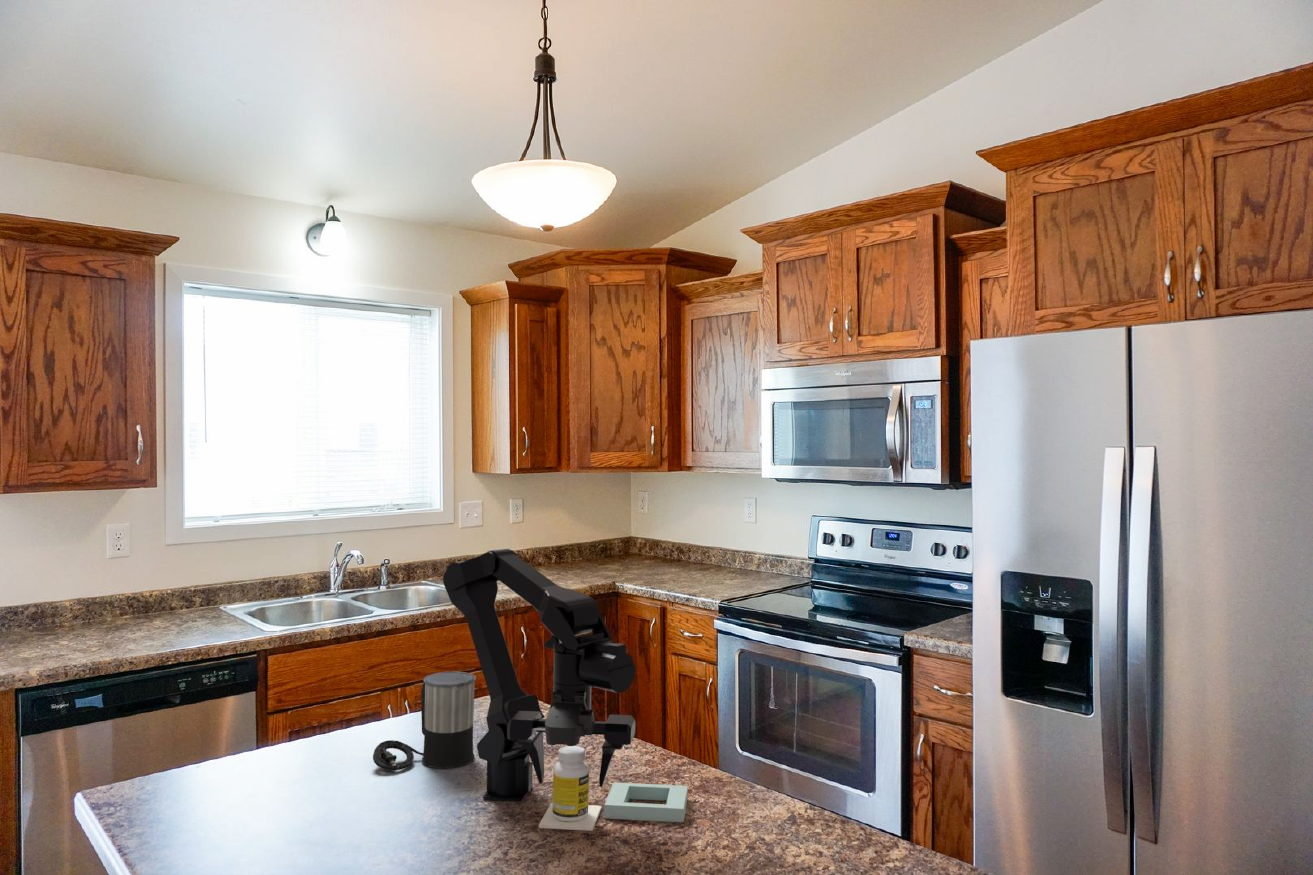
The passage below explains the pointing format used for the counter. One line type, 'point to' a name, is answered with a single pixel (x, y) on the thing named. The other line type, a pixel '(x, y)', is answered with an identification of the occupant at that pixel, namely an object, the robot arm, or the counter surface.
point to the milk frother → (439, 724)
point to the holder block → (622, 809)
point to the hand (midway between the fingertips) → (571, 784)
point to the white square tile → (583, 824)
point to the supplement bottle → (570, 785)
